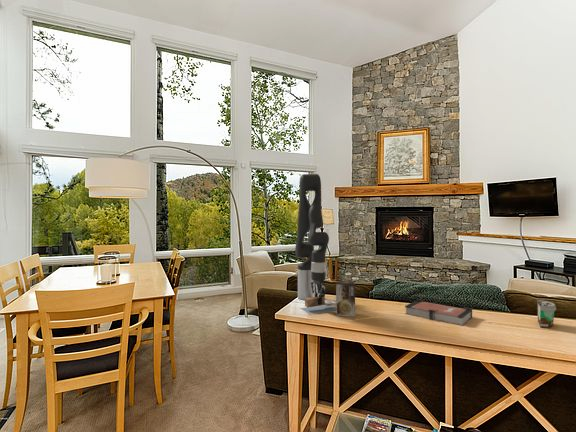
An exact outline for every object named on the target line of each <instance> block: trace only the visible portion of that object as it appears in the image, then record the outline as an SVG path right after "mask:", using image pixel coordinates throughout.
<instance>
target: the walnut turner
mask: <svg viewBox="0 0 576 432" xmlns="http://www.w3.org/2000/svg"><path fill="white" fill-rule="evenodd" d="M325 297H326V296H325ZM325 297H322V305H318V297H315V296H313V297H310V298H305V300H304V306H305V308H306V307H307V308H308V307H315V306H323V305H326V306H331V305H332V306H336V300H335V301H334V300H332V299H331V298H330V299H325Z"/></svg>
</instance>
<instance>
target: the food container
mask: <svg viewBox="0 0 576 432" xmlns="http://www.w3.org/2000/svg"><path fill="white" fill-rule="evenodd" d="M556 311H557V306H556V304H555V303H553V302H551V301H546V300H541V299H537V324H538V325H539V328H541V329H542V328H543V329H553V328H552V327H554V320H555V318H554V317H555V312H556Z"/></svg>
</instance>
